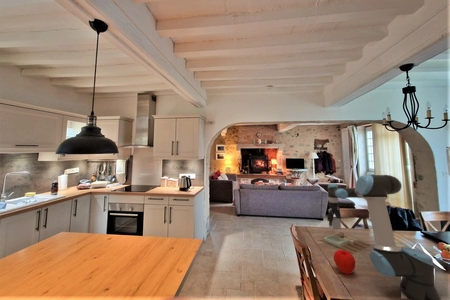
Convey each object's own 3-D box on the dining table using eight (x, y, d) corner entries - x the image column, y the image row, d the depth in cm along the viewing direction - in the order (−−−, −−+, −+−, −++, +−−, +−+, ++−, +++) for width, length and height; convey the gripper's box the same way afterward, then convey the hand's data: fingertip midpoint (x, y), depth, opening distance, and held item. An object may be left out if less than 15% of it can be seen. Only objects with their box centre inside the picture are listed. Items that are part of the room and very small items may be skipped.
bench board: (352, 255, 133) (351, 247, 133) (320, 241, 156) (319, 234, 156) (370, 246, 146) (370, 238, 146) (338, 234, 169) (338, 228, 169)
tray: (339, 247, 143) (339, 243, 143) (324, 241, 154) (323, 237, 155) (347, 243, 148) (347, 240, 149) (332, 237, 160) (332, 234, 160)
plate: (352, 244, 147) (352, 241, 147) (342, 240, 154) (342, 238, 154) (357, 242, 150) (357, 239, 151) (347, 238, 158) (347, 236, 158)
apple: (330, 269, 117) (329, 248, 118) (342, 265, 122) (341, 245, 122) (347, 280, 106) (346, 258, 107) (360, 275, 110) (359, 253, 111)
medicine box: (337, 227, 154) (337, 217, 155) (341, 229, 150) (340, 219, 150) (328, 227, 154) (328, 217, 155) (332, 229, 150) (331, 219, 150)
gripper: (330, 204, 145) (331, 232, 144) (345, 201, 155) (346, 227, 154) (321, 202, 151) (322, 229, 150) (336, 199, 161) (337, 224, 160)
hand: (334, 228), depth 152 cm, fingers closed on medicine box, 9 cm apart
